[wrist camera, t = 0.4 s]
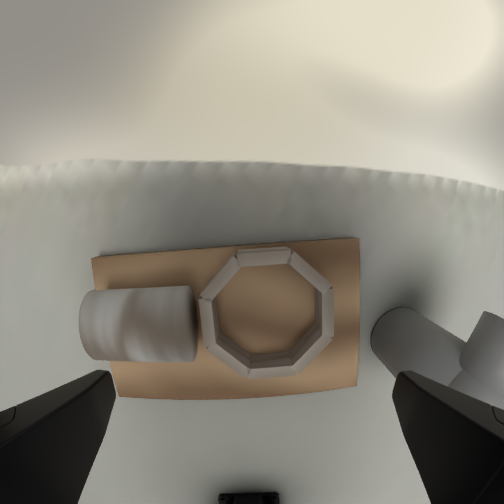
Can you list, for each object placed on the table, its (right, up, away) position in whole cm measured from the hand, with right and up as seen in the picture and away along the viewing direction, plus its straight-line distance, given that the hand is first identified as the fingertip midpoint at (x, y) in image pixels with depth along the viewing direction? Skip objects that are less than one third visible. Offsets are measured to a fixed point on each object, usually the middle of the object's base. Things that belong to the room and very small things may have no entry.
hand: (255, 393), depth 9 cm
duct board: (-2, -1, +15) cm, 15 cm away
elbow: (+12, -3, +15) cm, 20 cm away
